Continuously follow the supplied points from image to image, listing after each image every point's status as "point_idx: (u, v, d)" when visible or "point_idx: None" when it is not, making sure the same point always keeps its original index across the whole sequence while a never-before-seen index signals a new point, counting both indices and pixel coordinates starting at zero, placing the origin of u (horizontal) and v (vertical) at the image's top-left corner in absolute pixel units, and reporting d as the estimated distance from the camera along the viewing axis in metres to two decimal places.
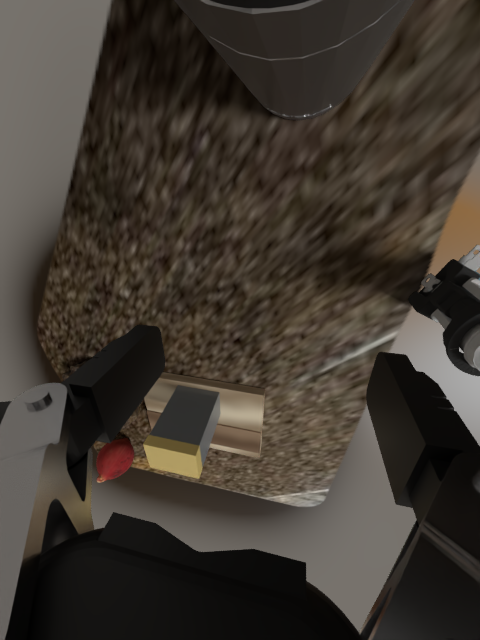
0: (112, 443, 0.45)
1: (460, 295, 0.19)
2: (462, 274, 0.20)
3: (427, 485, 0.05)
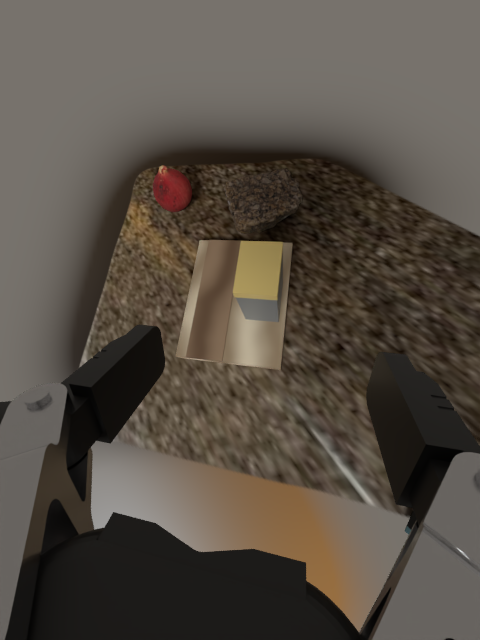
0: (191, 192, 0.41)
1: None
2: None
3: (427, 485, 0.05)
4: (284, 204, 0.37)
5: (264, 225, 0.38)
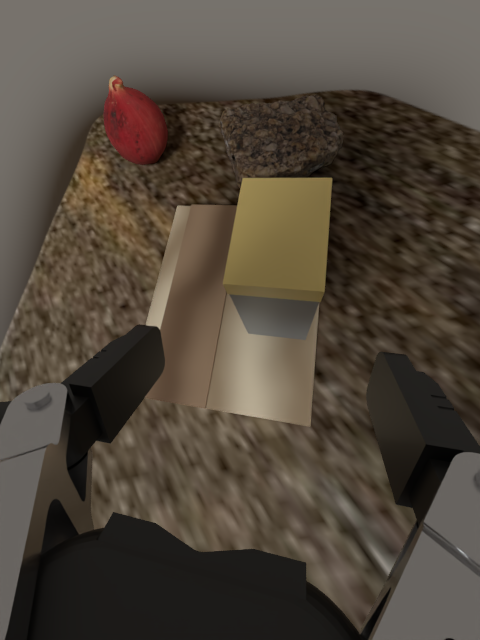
0: (166, 133, 0.27)
1: None
2: None
3: (427, 485, 0.05)
4: (318, 143, 0.23)
5: None
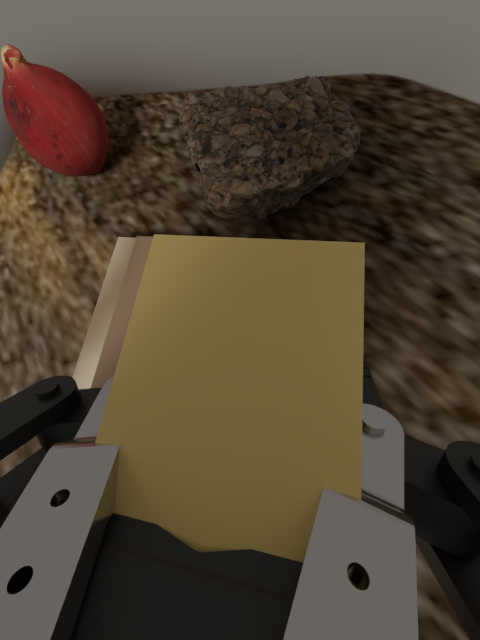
0: (106, 133, 0.19)
1: None
2: None
3: None
4: (325, 145, 0.15)
5: (275, 199, 0.16)
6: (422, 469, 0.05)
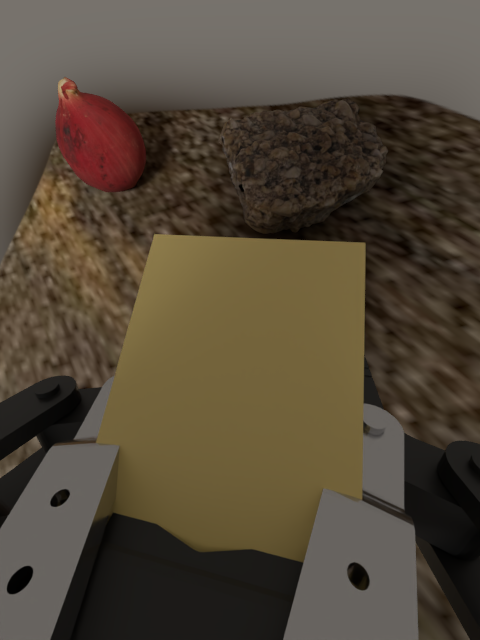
0: (144, 152, 0.20)
1: None
2: None
3: None
4: (357, 166, 0.16)
5: (310, 216, 0.17)
6: (422, 469, 0.05)
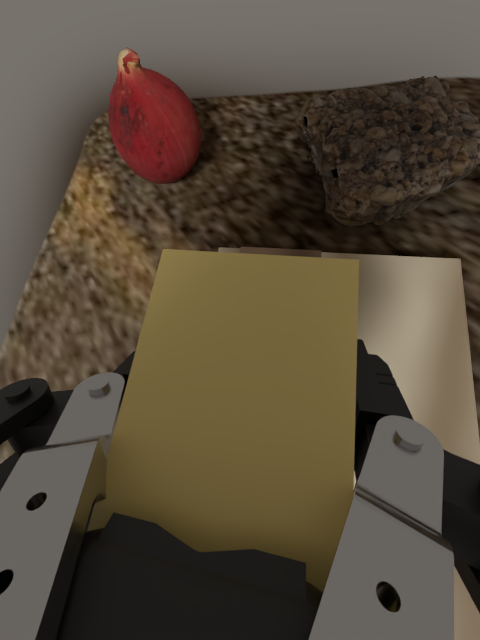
0: (200, 139, 0.18)
1: None
2: None
3: (362, 446, 0.06)
4: (466, 148, 0.14)
5: (408, 205, 0.15)
6: (464, 487, 0.05)
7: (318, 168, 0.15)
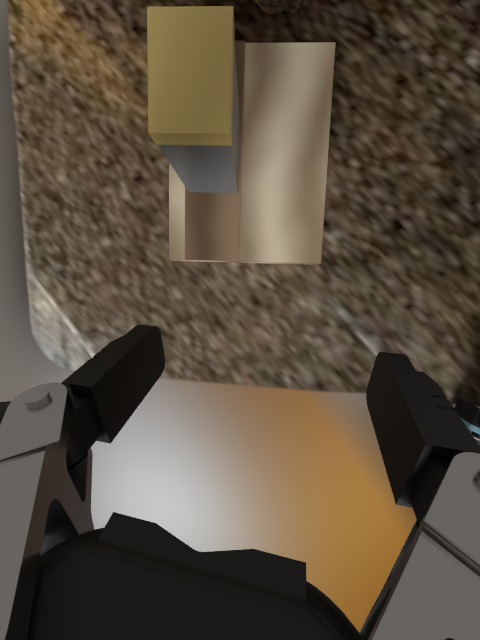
0: None
1: None
2: None
3: (427, 485, 0.05)
4: None
5: None
6: None
7: None
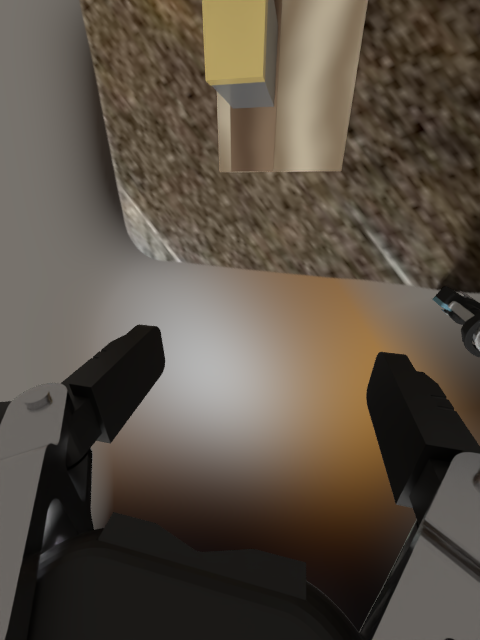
0: None
1: None
2: None
3: (427, 485, 0.05)
4: None
5: None
6: None
7: None
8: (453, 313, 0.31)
